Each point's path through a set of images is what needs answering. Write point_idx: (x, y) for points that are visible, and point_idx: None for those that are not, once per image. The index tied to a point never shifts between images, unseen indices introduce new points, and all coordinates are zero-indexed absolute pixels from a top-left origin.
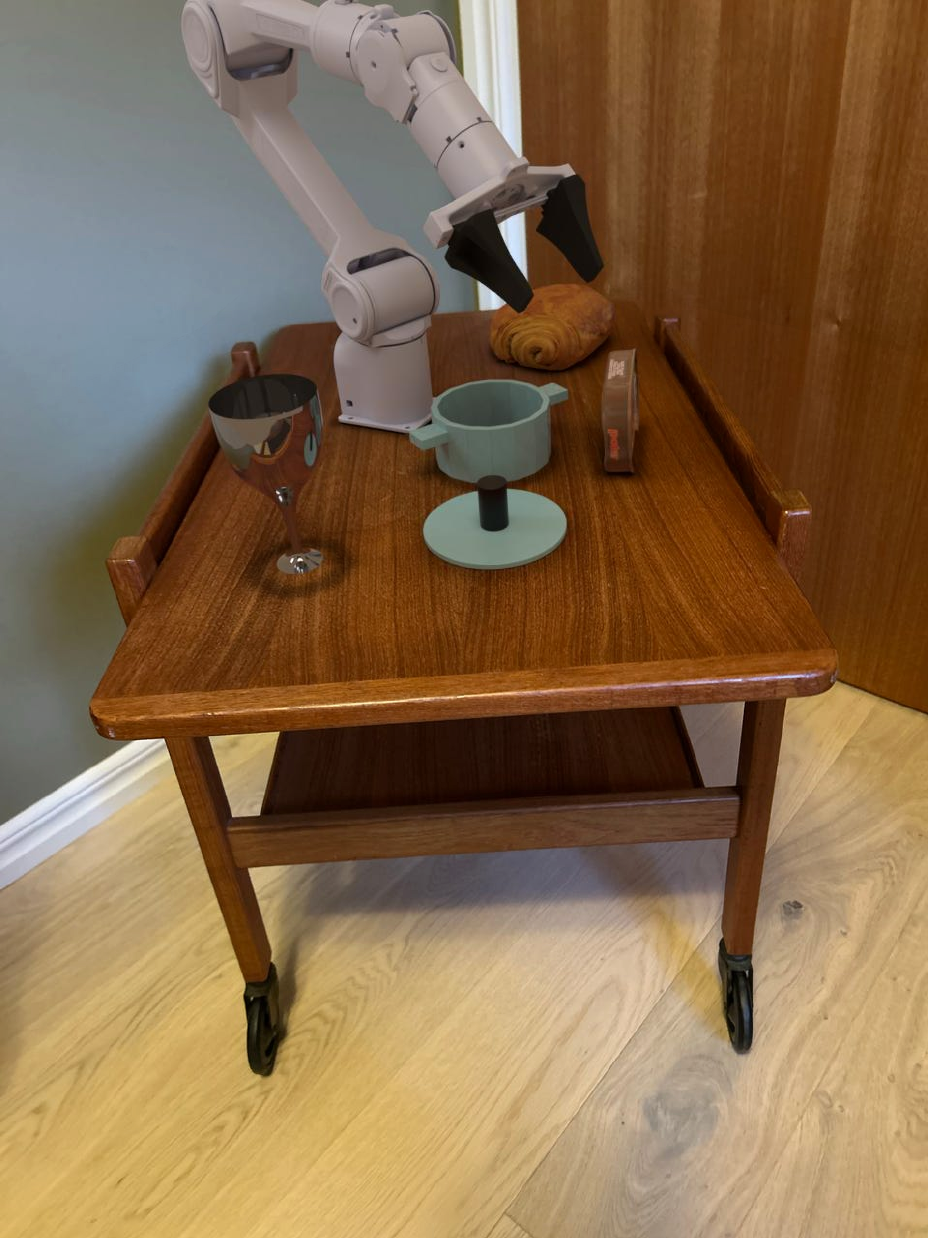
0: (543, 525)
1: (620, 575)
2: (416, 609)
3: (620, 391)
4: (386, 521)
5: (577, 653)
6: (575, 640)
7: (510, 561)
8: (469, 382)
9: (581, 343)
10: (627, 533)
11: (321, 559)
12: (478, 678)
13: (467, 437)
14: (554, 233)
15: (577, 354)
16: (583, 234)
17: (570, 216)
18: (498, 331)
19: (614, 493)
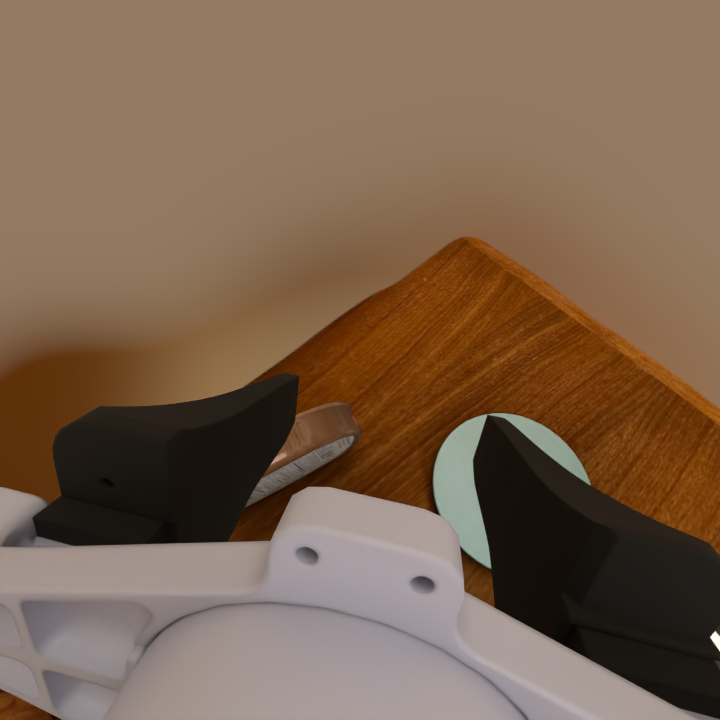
0: (478, 441)
1: (478, 358)
2: (650, 473)
3: (314, 422)
4: None
5: (576, 334)
6: (567, 343)
7: (547, 430)
8: None
9: (5, 706)
10: (421, 385)
11: (712, 639)
12: (656, 372)
13: None
14: (227, 518)
15: (27, 703)
16: (266, 396)
17: (233, 434)
18: None
19: (367, 431)
